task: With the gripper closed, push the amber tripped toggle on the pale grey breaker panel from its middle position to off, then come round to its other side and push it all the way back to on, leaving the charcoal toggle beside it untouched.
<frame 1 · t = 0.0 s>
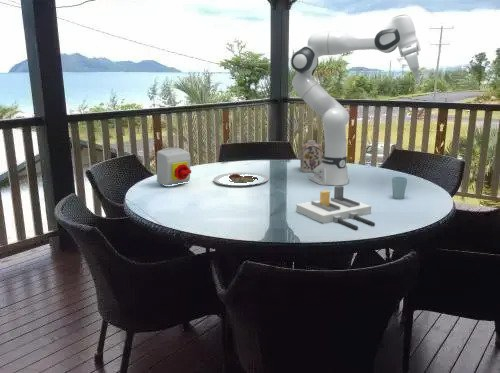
hand: (418, 79, 195), 52 cm above the table, tool tilted 20°, fingers open, 8 cm apart
charcoal toggle: (338, 193, 176), point 6 cm above the table, slide at 0.0 cm
power cords: (354, 220, 158), on the table
cup: (398, 197, 191), on the table
breaker panel: (333, 212, 172), on the table
amber toggle: (324, 198, 169), point 6 cm above the table, slide at 3.5 cm
plated food: (241, 182, 229), on the table
decorative jar: (310, 170, 252), on the table
electrical switch box: (176, 185, 224), on the table
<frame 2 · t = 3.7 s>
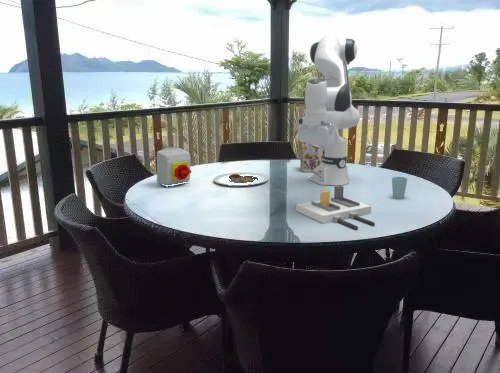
hand: (315, 154, 171), 23 cm above the table, tool pointing down, fingers open, 4 cm apart
nothing on the table moved.
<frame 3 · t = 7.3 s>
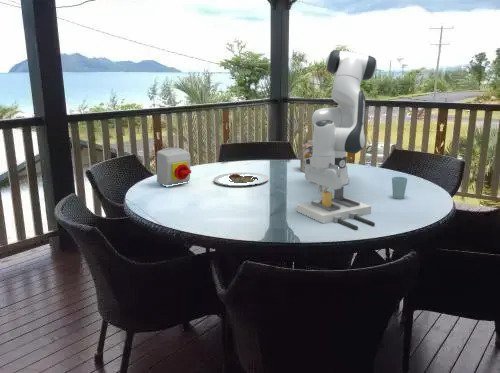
hand: (322, 195, 170), 7 cm above the table, tool pointing down, fingers closed
amber toggle: (326, 199, 168), point 6 cm above the table, slide at 4.7 cm, touching gripper
everything else where it was.
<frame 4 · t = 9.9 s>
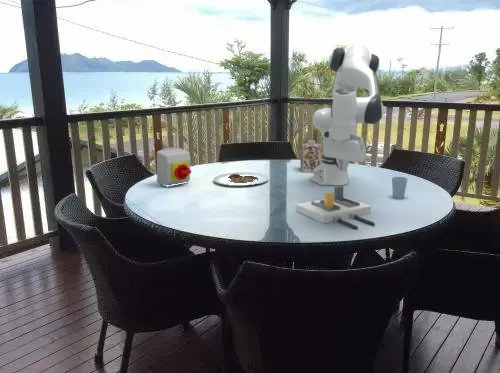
hand: (342, 171, 157), 19 cm above the table, tool pointing down, fingers closed
amber toggle: (329, 200, 167), point 6 cm above the table, slide at 6.1 cm
everything else where it was.
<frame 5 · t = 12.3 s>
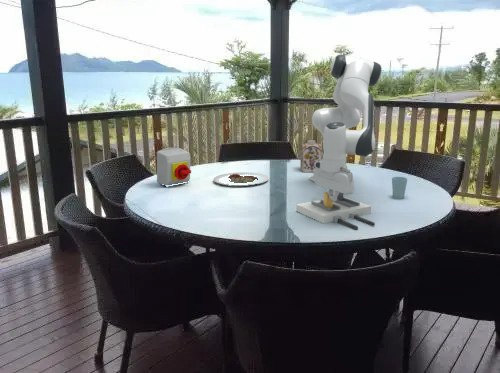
hand: (332, 200, 165), 7 cm above the table, tool pointing down, fingers closed
amber toggle: (328, 200, 167), point 6 cm above the table, slide at 5.6 cm, touching gripper
everything else where it was.
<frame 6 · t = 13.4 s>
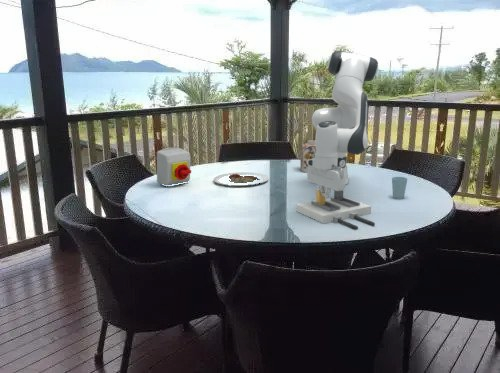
hand: (325, 196, 169), 7 cm above the table, tool pointing down, fingers closed
amber toggle: (320, 197, 171), point 6 cm above the table, slide at 0.9 cm, touching gripper
everything else where it was.
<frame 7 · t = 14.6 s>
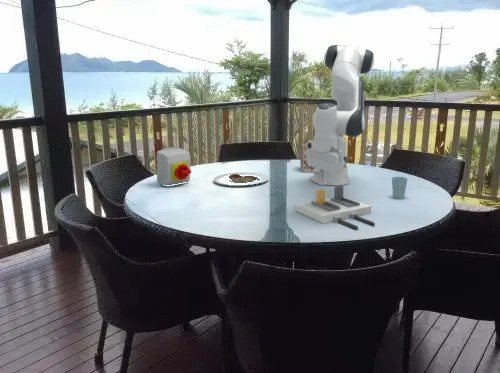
hand: (323, 180, 167), 14 cm above the table, tool pointing down, fingers closed
amber toggle: (320, 197, 171), point 6 cm above the table, slide at 0.5 cm
everything else where it was.
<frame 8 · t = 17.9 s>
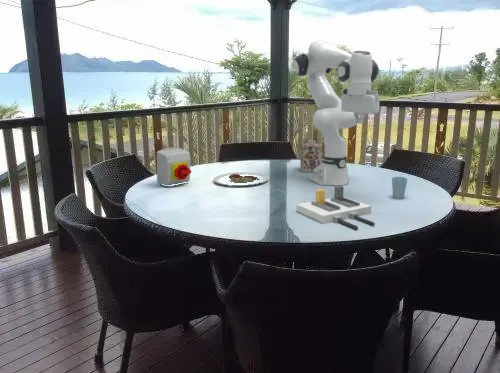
hand: (359, 123, 181), 34 cm above the table, tool pointing down, fingers closed
nothing on the table moved.
at the end: amber toggle slide at 0.5 cm; charcoal toggle slide at 0.0 cm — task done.
